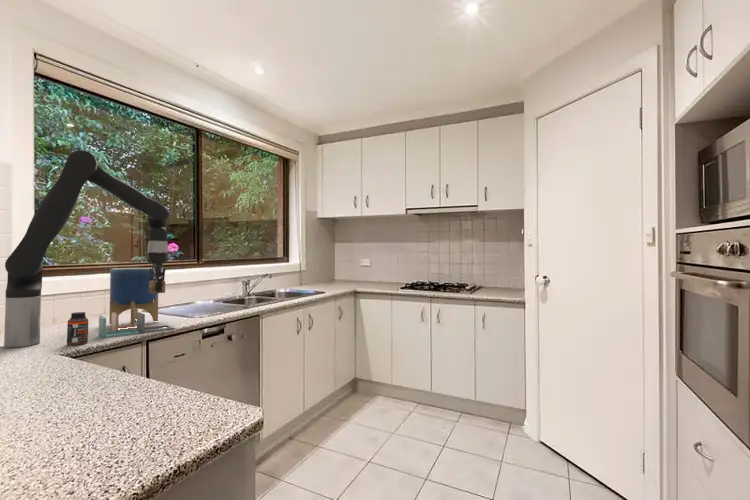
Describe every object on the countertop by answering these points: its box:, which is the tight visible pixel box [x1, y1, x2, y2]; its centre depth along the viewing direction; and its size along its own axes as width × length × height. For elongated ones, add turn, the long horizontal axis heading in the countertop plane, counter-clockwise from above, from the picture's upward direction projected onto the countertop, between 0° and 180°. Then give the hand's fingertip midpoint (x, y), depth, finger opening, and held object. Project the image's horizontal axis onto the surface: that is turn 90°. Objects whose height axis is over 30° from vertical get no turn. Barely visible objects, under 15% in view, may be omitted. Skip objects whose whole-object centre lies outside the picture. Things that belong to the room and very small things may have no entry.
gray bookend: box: [136, 311, 175, 334], centre depth 157 cm, size 12×9×8 cm
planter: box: [108, 267, 159, 325], centre depth 174 cm, size 19×19×26 cm
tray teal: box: [98, 315, 140, 340], centre depth 148 cm, size 12×9×8 cm
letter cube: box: [149, 280, 166, 294], centre depth 158 cm, size 5×5×5 cm
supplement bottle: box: [66, 311, 89, 346], centre depth 133 cm, size 6×6×11 cm
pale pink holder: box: [110, 311, 150, 331], centre depth 159 cm, size 12×9×8 cm
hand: (156, 290), depth 158 cm, fingers closed on letter cube, 5 cm apart
